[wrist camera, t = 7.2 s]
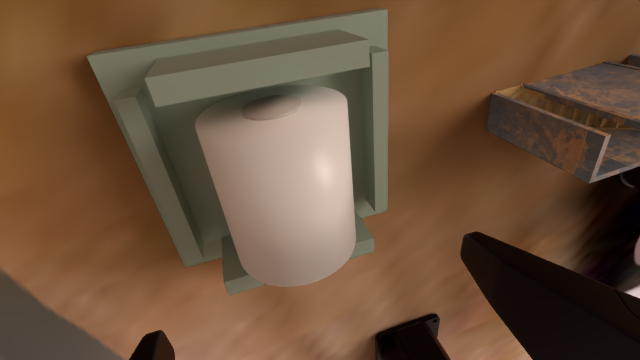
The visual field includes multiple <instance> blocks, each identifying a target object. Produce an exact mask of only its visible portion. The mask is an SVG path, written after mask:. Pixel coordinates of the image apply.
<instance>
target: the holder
mask: <svg viewBox="0 0 640 360" xmlns="http://www.w3.org/2000/svg"><path fill="white" fill-rule="evenodd" d="M87 58H88V61H89V63H90V65H91V67H92V69H93V71H94V73H95V76H96V78H97V80H98V82H99V84H100V86H101V88H102V91H103V93H104V95H105V97H106V99H107V101H108V103H109V106H110V108H111V110H112V112H113V114H114V116H115V118H116V121H117V123H118V125H119V127H120V129H121V131H122V133H123V136H124V138H125V140H126V142H127V144H128V146H129V148H130V151H131V153H132V155H133V157H134V159H135V161H136V163H137V166H138V168H139V170H140V172H141V174H142V176H143V178H144V181H145V183H146V185H147V187H148V189H149V191H150V193H151V196H152V198H153V200H154V202H155V204H156V206H157V208H158V211H159V213H160V215H161V217H162V219H163V221H164V223H165V226H166V228H167V230H168V232H169V234H170V236H171V238H172V241H173V243H174V245H175V247H176V249H177V251H178V254H179V256H180V258H181V260H182V262H183V264H184V266H185V268H187V267H190V266H194V265H197V264H201V263H204V262H208V261H211V260H215V259H219V258H223V275H224V284H225V286H226V289H227V292H228V294H229V296H230V295H233V294H236V293H239V292H243V291H246V290H249V289H253V288H256V287H259V286H263V285H266V284H265V283H262V282H260V281H258V280H256V279H254V278H253V277H251V276H250V275H249V274H248V273H247V272H246V271H245V270H244V268H243V267H242V265H241V263H240V260H239V257H238V254H237V251H236V248H235V245H234V242H233V239H232V236H231V233H230V230H229V227H228V224H227V221H226V218H225V215H224V212H223V210H222V207H221V204H220V201H219V198H218V195H217V192H216V189H215V186H214V183H213V180H212V177H211V174H210V171H209V168H208V165H207V162H206V159H205V156H204V153H203V150H202V147H201V144H200V141H199V138H198V135H197V132H196V129H195V121H196V119H197V118H198V116H199V115H200V114H201V113H202V112H204V111H205V110H206V109H208V108H209V107H211V106H212V105H214V104H216V103H218V102H220V101H223V100H225V99H227V98H230V97H233V96H236V95H239V94H242V93H246V92H250V91H254V90H259V89H264V88H270V87H277V86H288V85H313V86H322V87H327V88H331V89H334V90H336V91H339V92H340V93H342V94H343V95H344V96H345V97H346V99H347V105H348V120H349V136H350V151H351V167H352V182H353V197H354V213H355V228H356V244H355V248H354V251H353V253H352V255H351V256H350V258H349V259H351V258H355V257H358V256H361V255H364V254H368V253H371V252H374V237H373V236H372V234H371V233H370V231H369V230H368V228H367V227H366V225H365V224H364V222H363V221H362V219H361V218H364V217H368V216H371V215H375V214H378V213H382V212H386V211H387V209H388V9H382V8H375V9H369V10H362V11H356V12H349V13H343V14H336V15H330V16H323V17H317V18H311V19H304V20H298V21H291V22H285V23H278V24H272V25H265V26H259V27H252V28H246V29H239V30H233V31H226V32H220V33H213V34H207V35H200V36H194V37H187V38H181V39H174V40H168V41H161V42H155V43H148V44H142V45H136V46H129V47H123V48H116V49H110V50H103V51H97V52H93V53H91V54H89V55H88V56H87Z"/></svg>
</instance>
